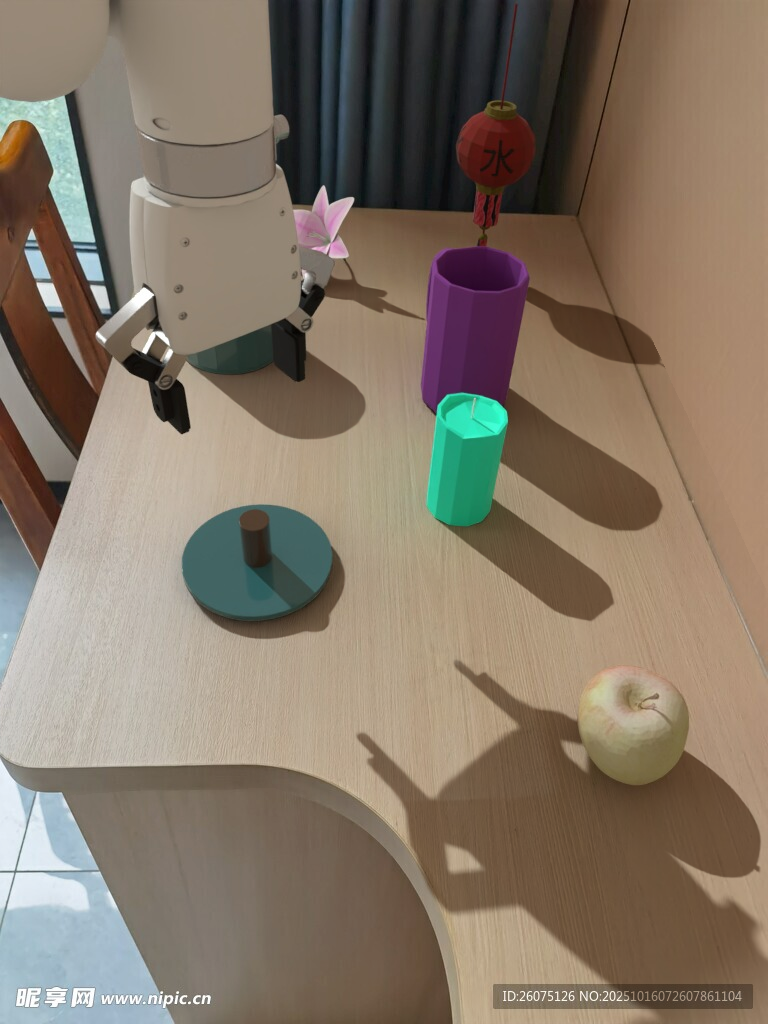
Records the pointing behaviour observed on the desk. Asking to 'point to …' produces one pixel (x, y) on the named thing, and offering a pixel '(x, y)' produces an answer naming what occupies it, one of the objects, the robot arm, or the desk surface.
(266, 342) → the teal round pot
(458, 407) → the candle
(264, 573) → the lid
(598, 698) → the fruit
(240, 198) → the robot arm
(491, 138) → the lantern
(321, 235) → the lily
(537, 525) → the desk surface
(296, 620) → the desk surface
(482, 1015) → the desk surface
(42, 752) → the desk surface
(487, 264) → the mug
